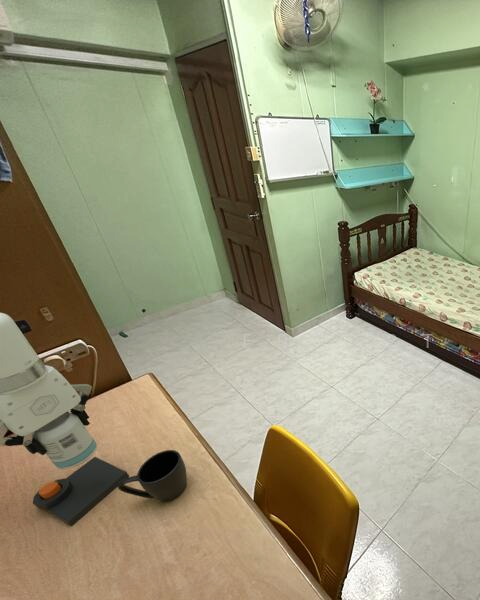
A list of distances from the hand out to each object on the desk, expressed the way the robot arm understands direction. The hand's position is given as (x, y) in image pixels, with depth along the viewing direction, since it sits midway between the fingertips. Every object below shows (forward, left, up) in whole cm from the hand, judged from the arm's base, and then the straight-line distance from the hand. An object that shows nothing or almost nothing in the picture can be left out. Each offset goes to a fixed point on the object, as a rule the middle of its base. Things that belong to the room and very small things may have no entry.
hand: (63, 436), depth 67 cm
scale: (-2, -2, -18) cm, 18 cm away
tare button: (-5, -5, -15) cm, 17 cm away
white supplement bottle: (0, 0, -7) cm, 7 cm away
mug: (+16, +4, -18) cm, 25 cm away
